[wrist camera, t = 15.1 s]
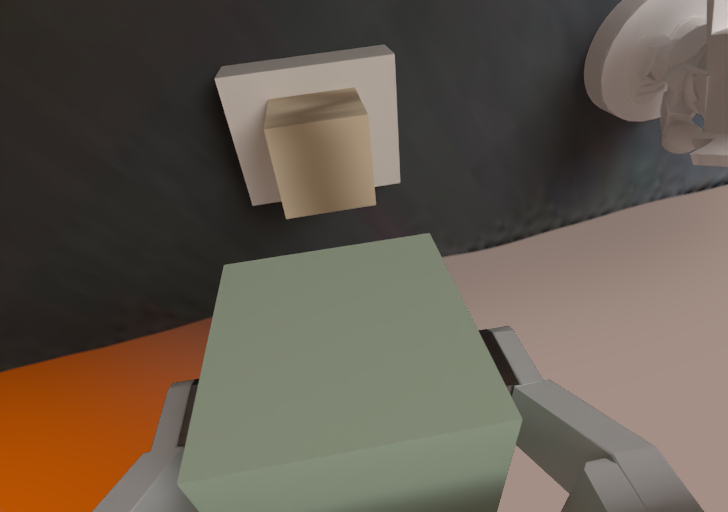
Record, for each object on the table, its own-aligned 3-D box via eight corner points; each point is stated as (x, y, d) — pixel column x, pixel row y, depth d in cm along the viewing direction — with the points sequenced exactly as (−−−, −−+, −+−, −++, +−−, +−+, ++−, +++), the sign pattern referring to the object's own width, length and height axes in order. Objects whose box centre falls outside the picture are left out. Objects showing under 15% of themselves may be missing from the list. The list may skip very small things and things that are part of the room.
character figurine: (581, 129, 30) (715, 208, 21) (587, -16, 25) (775, 2, 15) (697, 89, 30) (888, 151, 20) (730, -69, 24) (1019, -84, 15)
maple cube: (354, 87, 23) (368, 114, 19) (362, 167, 26) (375, 204, 22) (268, 99, 23) (263, 129, 19) (286, 178, 26) (286, 219, 22)
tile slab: (384, 44, 25) (394, 53, 23) (391, 164, 30) (400, 182, 27) (221, 66, 24) (214, 78, 22) (255, 185, 29) (252, 205, 27)
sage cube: (429, 233, 10) (522, 418, 6) (427, 362, 13) (488, 542, 9) (224, 264, 10) (176, 485, 6) (271, 389, 13) (262, 588, 9)
